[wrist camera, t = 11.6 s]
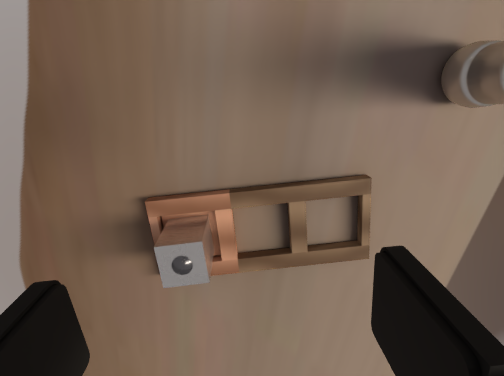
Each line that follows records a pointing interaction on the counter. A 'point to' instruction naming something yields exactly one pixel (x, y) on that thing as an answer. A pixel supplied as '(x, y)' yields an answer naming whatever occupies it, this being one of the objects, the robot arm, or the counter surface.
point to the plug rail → (290, 193)
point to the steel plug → (185, 251)
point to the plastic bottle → (475, 75)
